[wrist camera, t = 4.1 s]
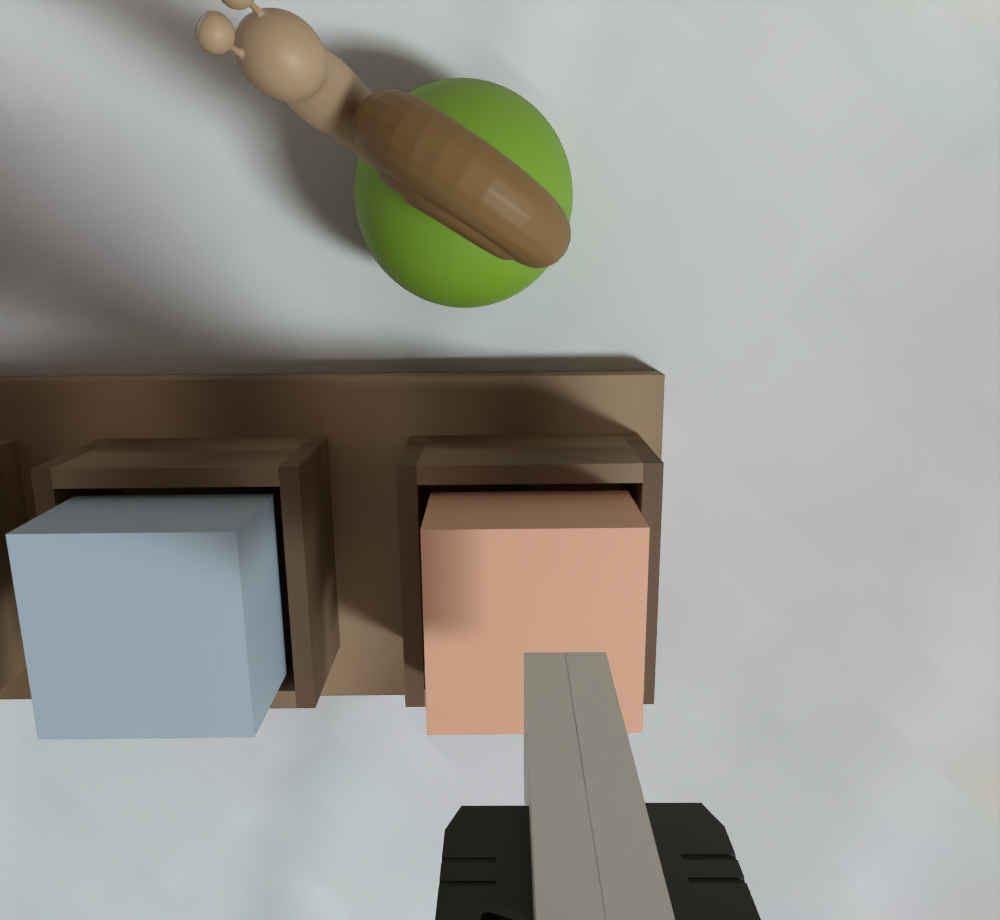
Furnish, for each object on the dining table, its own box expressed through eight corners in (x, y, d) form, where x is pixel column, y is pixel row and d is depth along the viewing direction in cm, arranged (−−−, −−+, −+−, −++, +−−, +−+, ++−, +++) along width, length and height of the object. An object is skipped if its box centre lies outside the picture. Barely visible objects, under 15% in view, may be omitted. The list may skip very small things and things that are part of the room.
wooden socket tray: (-154, 685, 26) (-287, 771, 22) (-221, 378, 24) (-385, 405, 19) (646, 676, 26) (677, 760, 22) (657, 370, 24) (695, 394, 20)
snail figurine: (400, 41, 22) (293, -212, 10) (599, 170, 23) (710, 72, 11) (306, 220, 23) (114, 175, 11) (500, 337, 24) (506, 407, 12)
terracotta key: (436, 671, 22) (427, 735, 19) (431, 492, 21) (420, 529, 18) (622, 669, 22) (642, 732, 19) (627, 489, 21) (649, 527, 18)
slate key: (99, 675, 22) (38, 739, 19) (75, 495, 20) (5, 534, 18) (286, 673, 22) (254, 736, 19) (272, 493, 20) (236, 531, 18)
